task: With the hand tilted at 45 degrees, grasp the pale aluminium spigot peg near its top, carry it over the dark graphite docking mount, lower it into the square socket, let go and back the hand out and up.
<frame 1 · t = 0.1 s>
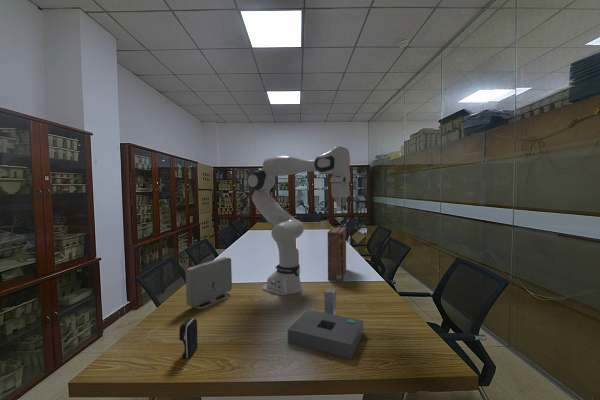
hand: (341, 206, 139), 48 cm above the table, tool pointing down, fingers open, 8 cm apart
docking mount: (326, 337, 105), on the table
spigot peg: (330, 317, 121), on the table
book: (337, 274, 180), on the table
battery charger: (188, 353, 96), on the table
network device: (210, 301, 140), on the table
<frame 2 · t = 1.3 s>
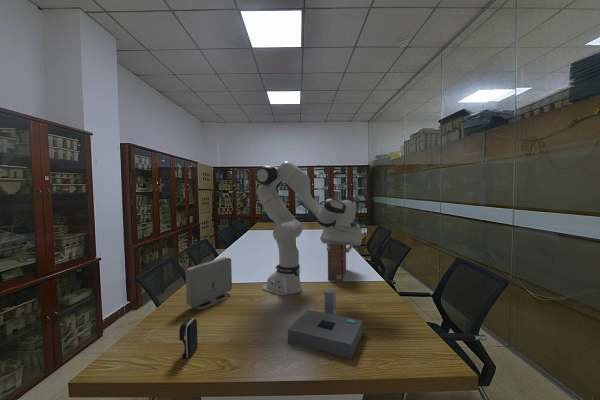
hand: (337, 251, 130), 27 cm above the table, tool tilted 45°, fingers open, 8 cm apart
nothing on the table moved.
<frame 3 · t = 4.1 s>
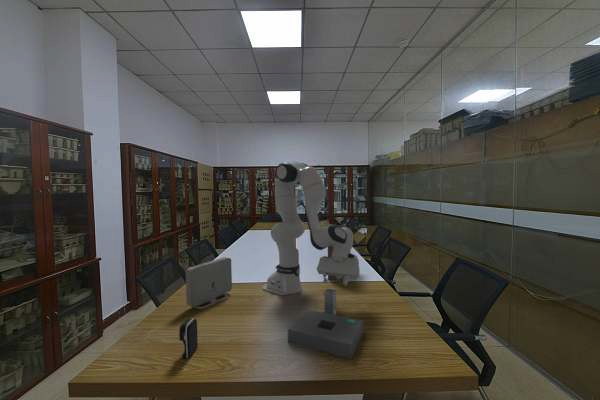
hand: (334, 283, 125), 13 cm above the table, tool tilted 45°, fingers open, 8 cm apart
nothing on the table moved.
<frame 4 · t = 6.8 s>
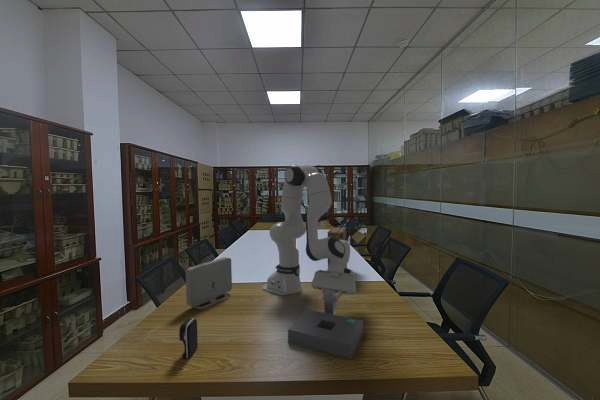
hand: (329, 300, 120), 8 cm above the table, tool tilted 45°, fingers closed on spigot peg, 4 cm apart
spigot peg: (330, 317, 121), on the table, touching gripper
everything else where it was.
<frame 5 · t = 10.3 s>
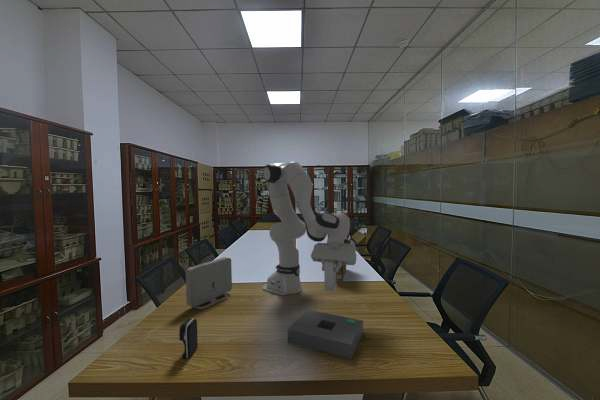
hand: (329, 271, 117), 22 cm above the table, tool tilted 45°, fingers closed on spigot peg, 4 cm apart
spigot peg: (330, 288, 118), point 14 cm above the table, touching gripper
everything else where it was.
when the fingers open (10 cm above the table, at t = 14.3 s): spigot peg drops 1 cm, resting on docking mount.
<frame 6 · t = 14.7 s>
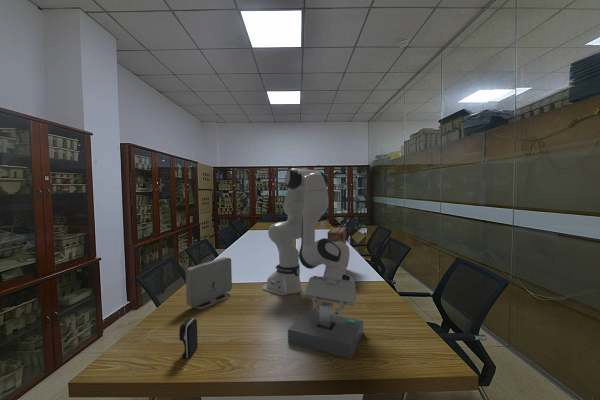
hand: (325, 311, 104), 10 cm above the table, tool tilted 45°, fingers open, 8 cm apart
spigot peg: (326, 334, 105), point 1 cm above the table, touching docking mount
everything else where it was.
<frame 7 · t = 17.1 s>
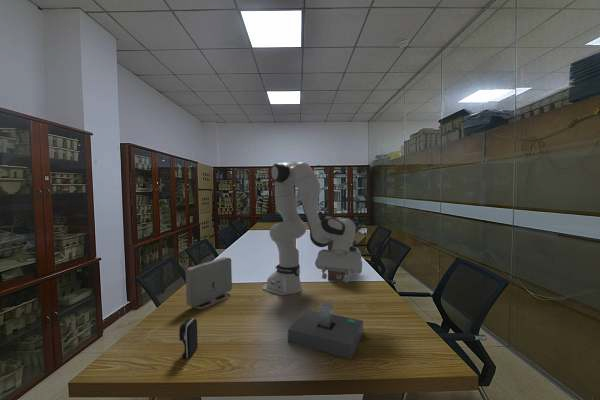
hand: (334, 279, 113), 19 cm above the table, tool tilted 45°, fingers open, 8 cm apart
nothing on the table moved.
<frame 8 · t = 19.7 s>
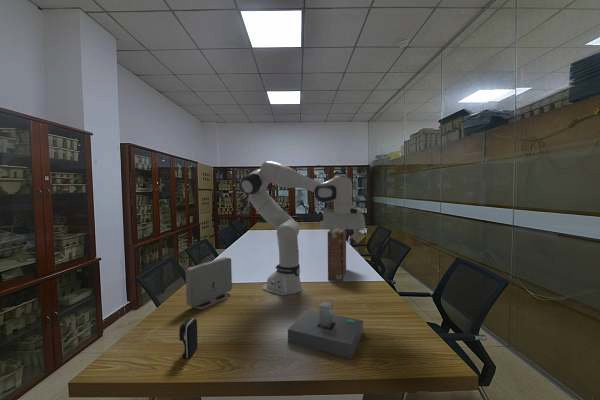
hand: (343, 238, 131), 33 cm above the table, tool pointing down, fingers open, 8 cm apart
nothing on the table moved.
at the end: spigot peg 0.1 cm off-centre on the docking mount, point 1.0 cm above the docking mount's base; spigot peg tilted 0°; the gripper is holding nothing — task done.
